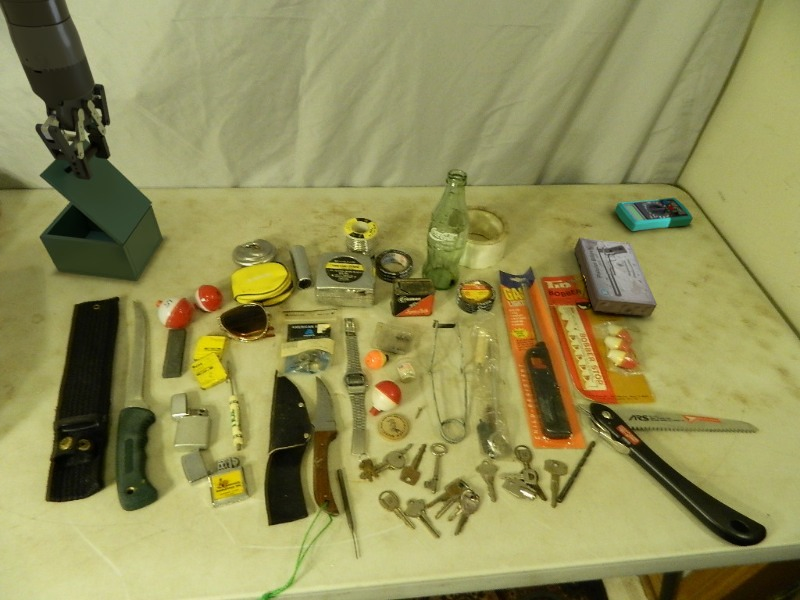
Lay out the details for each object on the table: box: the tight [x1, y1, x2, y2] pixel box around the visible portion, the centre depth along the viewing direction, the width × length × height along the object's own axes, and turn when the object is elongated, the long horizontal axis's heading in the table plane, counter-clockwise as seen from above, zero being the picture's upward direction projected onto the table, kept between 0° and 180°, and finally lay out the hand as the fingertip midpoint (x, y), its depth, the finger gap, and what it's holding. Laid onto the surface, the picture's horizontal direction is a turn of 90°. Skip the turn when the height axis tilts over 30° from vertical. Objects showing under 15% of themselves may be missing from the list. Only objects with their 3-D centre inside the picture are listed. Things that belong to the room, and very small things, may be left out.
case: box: [38, 201, 164, 282], centre depth 91 cm, size 14×11×8 cm
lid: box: [38, 138, 153, 245], centre depth 83 cm, size 14×11×5 cm
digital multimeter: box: [614, 197, 694, 232], centre depth 112 cm, size 7×15×3 cm, turn 103°
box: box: [574, 237, 658, 318], centre depth 97 cm, size 11×17×3 cm, turn 177°
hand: (94, 167), depth 80 cm, fingers closed on lid, 5 cm apart
